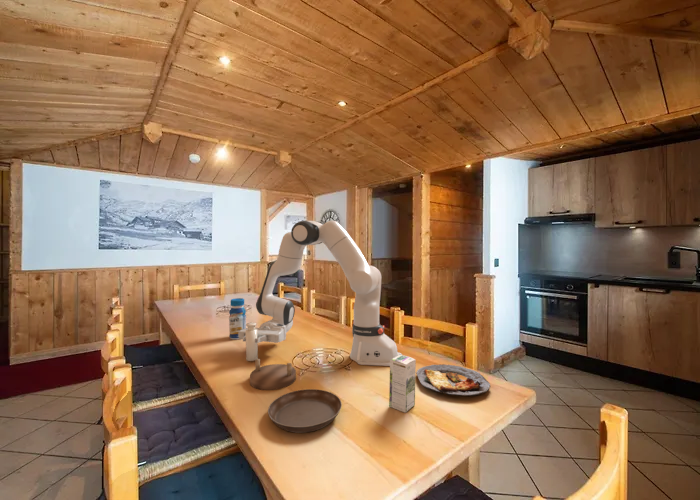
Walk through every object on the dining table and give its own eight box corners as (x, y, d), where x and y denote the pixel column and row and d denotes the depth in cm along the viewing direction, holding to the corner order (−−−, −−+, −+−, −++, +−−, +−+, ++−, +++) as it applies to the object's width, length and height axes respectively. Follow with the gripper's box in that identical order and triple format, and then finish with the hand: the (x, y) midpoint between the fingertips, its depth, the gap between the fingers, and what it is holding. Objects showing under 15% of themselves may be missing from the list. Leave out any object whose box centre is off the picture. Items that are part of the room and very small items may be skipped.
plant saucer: (254, 416, 89) (254, 405, 89) (312, 392, 104) (311, 382, 104) (296, 450, 74) (296, 436, 74) (356, 416, 89) (356, 405, 89)
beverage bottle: (249, 336, 164) (249, 298, 163) (236, 341, 157) (235, 301, 156) (239, 334, 168) (238, 297, 168) (225, 338, 161) (225, 299, 161)
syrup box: (398, 399, 98) (398, 353, 98) (415, 405, 94) (415, 358, 94) (388, 407, 94) (389, 359, 93) (406, 413, 90) (406, 363, 89)
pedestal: (303, 373, 118) (303, 356, 117) (281, 393, 102) (281, 373, 102) (266, 368, 123) (266, 351, 122) (240, 386, 107) (240, 367, 107)
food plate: (501, 401, 97) (501, 390, 97) (426, 401, 97) (426, 390, 97) (471, 370, 122) (471, 361, 122) (411, 370, 122) (411, 361, 122)
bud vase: (260, 357, 131) (259, 322, 131) (253, 361, 126) (252, 325, 126) (250, 356, 132) (250, 322, 132) (243, 360, 128) (243, 324, 128)
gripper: (249, 322, 145) (229, 330, 132) (288, 325, 138) (271, 334, 125) (249, 336, 145) (229, 345, 132) (288, 339, 138) (271, 350, 125)
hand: (250, 340), depth 128 cm, fingers closed on bud vase, 5 cm apart
